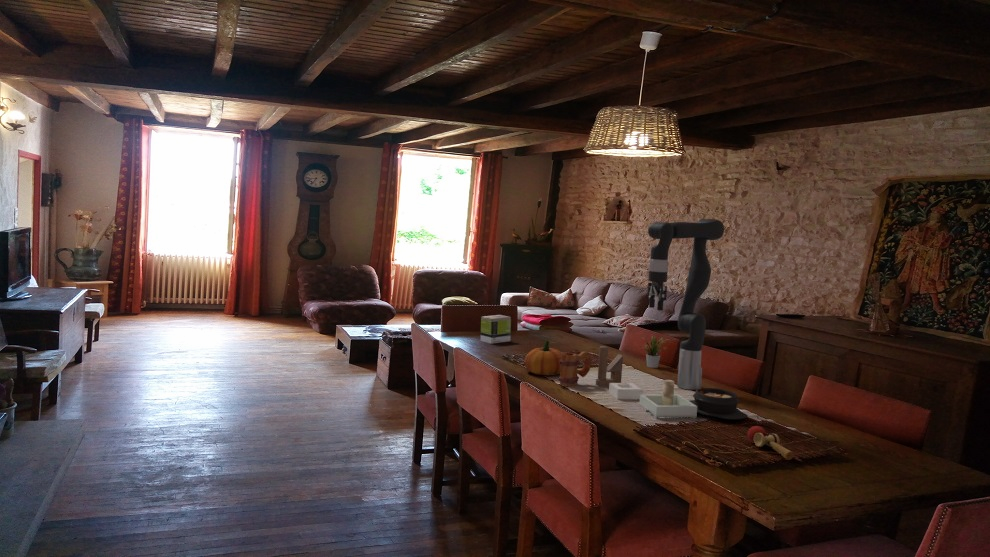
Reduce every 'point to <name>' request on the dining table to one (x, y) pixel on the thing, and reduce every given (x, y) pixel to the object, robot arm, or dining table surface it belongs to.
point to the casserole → (717, 403)
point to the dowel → (668, 393)
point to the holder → (624, 390)
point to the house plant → (653, 352)
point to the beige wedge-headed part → (608, 368)
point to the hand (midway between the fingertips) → (655, 308)
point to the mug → (573, 368)
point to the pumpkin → (544, 361)
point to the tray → (677, 410)
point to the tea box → (495, 329)
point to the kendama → (768, 441)
